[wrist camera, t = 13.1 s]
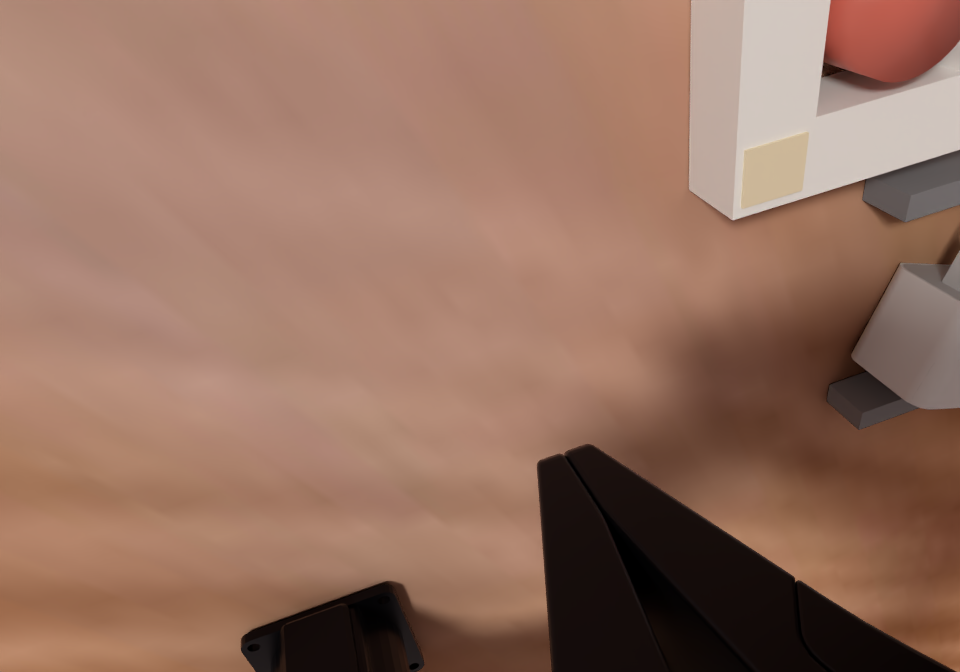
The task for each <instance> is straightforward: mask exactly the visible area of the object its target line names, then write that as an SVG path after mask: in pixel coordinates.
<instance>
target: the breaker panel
mask: <svg viewBox="0 0 960 672" xmlns="http://www.w3.org/2000/svg"><path fill="white" fill-rule="evenodd" d="M830 1H831V0H691V55H690V139H689V190H690V191H691V192H693V193H694V194H696V195H697V196H698V197H700V198H701V199H703V200H704V201H706V202H707V203H708V204H710V205H711V206H713V207H714V208H716V209H717V210H718V211H720V212H721V213H723V214H724V215H726V216H727V217H728V218H730V219H731V220H736V219H739V218H742V217H745V216H748V215H752V214H755V213H758V212H761V211H765V210H768V209H771V208H774V207H777V206H781V205H784V204H787V203H790V202H793V201H797V200H800V199H803V198H806V197H809V196H813V195H816V194H819V193H822V192H826V191H829V190H832V189H835V188H838V187H842V186H845V185H848V184H851V183H854V182H858V181H861V180H864V179H867V178H871V177H874V176H877V175H880V174H883V173H887V172H890V171H893V170H896V169H899V168H903V167H906V166H909V165H912V164H915V163H919V162H922V161H925V160H928V159H932V158H935V157H938V156H941V155H944V154H948V153H951V152H954V151H957V150H960V41H959V42H958V43H957V44H956V46H955V47H954V48H953V49H952V50H951V51H950V52H949V53H948V54H947V55H946V56H945V57H944V58H943V59H942V60H941V61H940V62H939V63H937V64H936V65H935V66H933V67H932V68H931V69H929V70H928V71H926V72H924V73H923V74H921V75H919V76H917V77H915V78H912V79H909V80H906V81H902V82H894V83H890V82H883V81H880V80H876V79H873V78H870V77H867V76H864V75H861V74H858V73H855V72H852V71H848V70H846V71H843V72H839V73H836V74H832V75H829V76H825V77H822V78H821V74H822V66H823V58H824V50H825V42H826V33H827V25H828V17H829V9H830Z"/></svg>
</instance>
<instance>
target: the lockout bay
mask: <svg viewBox="0 0 960 672" xmlns="http://www.w3.org/2000/svg"><path fill="white" fill-rule="evenodd" d="M862 200H863V201H865V202H867V203H869V204H871V205H873V206H875V207H877V208H879V209H880V210H882V211H884V212H886V213H888V214H890V215H892V216H894V217H896V218H898V219H900V220H901V221H903V222H908V221H911V220H914V219H917V218H920V217H923V216H926V215H929V214H932V213H935V212H938V211H942V210H945V209H948V208H951V207H954V206H957V205H960V150H957V151H954V152H951V153H948V154H944V155H941V156H938V157H935V158H932V159H928V160H925V161H922V162H919V163H915V164H912V165H909V166H906V167H903V168H899V169H896V170H893V171H890V172H887V173H883V174H880V175H877V176H874V177H871V178H867V179H866V183H865V188H864V194H863V199H862ZM827 402H828V403H829V404H830V405H831V406H832V407H834V408H835V409H836V410H837V411H838V412H839V413H840V414H841V415H843V416H844V417H845V418H846V419H847V420H848V421H849V422H850V423H851V424H853V425H854V426H855V427H856V428H857V429H858V430H860V429H863V428H866V427H868V426H871V425H874V424H877V423H879V422H882V421H885V420H887V419H890V418H893V417H896V416H898V415H901V414H904V413H907V412H909V411H912V410H915V409H918V408H919V407H917V406H914V405H912V404H910V403H908V402H906V401H905V400H903V399H902V398H901V397H900V396H898V395H897V394H896V393H894V392H893V391H892V390H891V389H889V388H888V387H887V386H886V385H884V384H883V383H882V382H880V381H879V380H878V379H877V378H875V377H874V376H873V375H872V374H870V373H869V372H868V371H867V372H864V373H861V374H859V375H856V376H853V377H850V378H847V379H844V380H842V381H839V382H836V383H833V384H830V385H829V391H828V397H827Z"/></svg>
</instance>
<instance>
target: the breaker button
mask: <svg viewBox="0 0 960 672" xmlns="http://www.w3.org/2000/svg"><path fill="white" fill-rule="evenodd" d="M959 41H960V0H831V1H830V9H829V17H828V25H827V33H826V42H825V50H824V58H823V62H824V63H827V64H830V65H833V66H836V67H839V68H842V69H845V70H848V71H852V72H855V73H858V74H861V75H864V76H867V77H870V78H873V79H876V80H880V81H883V82H890V83H894V82H902V81H906V80H909V79H912V78H915V77H917V76H919V75H921V74H923V73H924V72H926V71H928V70H929V69H931V68H932V67H933V66H935V65H936V64H937V63H939V62H940V61H941V60H942V59H943V58H944V57H945V56H946V55H947V54H948V53H949V52H950V51H951V50H952V49H953V48H954V47H955V46H956V44H957V43H958V42H959Z"/></svg>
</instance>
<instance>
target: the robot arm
mask: <svg viewBox="0 0 960 672" xmlns="http://www.w3.org/2000/svg"><path fill="white" fill-rule="evenodd" d="M537 474H538V488H539V502H540V516H541V529H542V543H543V557H544V571H545V585H546V598H547V612H548V626H549V640H550V653H551V667H552V672H956V671H954V670H952V669H950V668H949V667H947V666H945V665H943V664H941V663H939V662H937V661H935V660H934V659H932V658H930V657H928V656H926V655H924V654H922V653H920V652H919V651H917V650H915V649H913V648H911V647H909V646H908V645H906V644H904V643H902V642H900V641H899V640H897V639H895V638H893V637H891V636H890V635H888V634H886V633H884V632H882V631H881V630H879V629H877V628H875V627H874V626H872V625H870V624H868V623H866V622H865V621H863V620H862V619H860V618H858V617H857V616H855V615H853V614H852V613H850V612H849V611H847V610H845V609H844V608H842V607H841V606H839V605H837V604H836V603H834V602H833V601H831V600H829V599H828V598H826V597H825V596H823V595H822V594H820V593H818V592H817V591H815V590H814V589H812V588H811V587H809V586H808V585H806V584H805V583H803V582H802V581H799V580H798V581H796V583H795V578H794V576H792V575H791V574H789V573H788V572H786V571H785V570H783V569H782V568H780V567H779V566H777V565H775V564H774V563H772V562H771V561H769V560H768V559H766V558H765V557H763V556H762V555H760V554H759V553H757V552H756V551H754V550H753V549H751V548H749V547H748V546H746V545H745V544H743V543H742V542H740V541H739V540H737V539H736V538H734V537H733V536H731V535H730V534H728V533H727V532H725V531H723V530H722V529H720V528H719V527H717V526H716V525H714V524H713V523H711V522H710V521H708V520H707V519H705V518H704V517H702V516H701V515H699V514H698V513H696V512H694V511H693V510H691V509H690V508H688V507H687V506H685V505H684V504H682V503H681V502H679V501H678V500H676V499H675V498H673V497H672V496H670V495H668V494H667V493H665V492H664V491H662V490H661V489H659V488H658V487H656V486H655V485H653V484H652V483H650V482H649V481H647V480H646V479H644V478H642V477H641V476H639V475H638V474H636V473H635V472H633V471H632V470H630V469H629V468H627V467H626V466H624V465H623V464H621V463H620V462H618V461H617V460H615V459H613V458H612V457H610V456H609V455H607V454H606V453H604V452H603V451H601V450H600V449H598V448H597V447H595V446H593V445H591V444H585V445H582V446H579V447H577V448H574V449H571V450H568V451H567V452H565V454H564V455H563V454H556V455H554V456H551V457H548V458H545V459H542V460H540V461H539V462H538V463H537ZM241 651H242V653H243V655H244V656H245V657H246V659H247V660H248V661H249V663H250V664H251V666H252V667H253V668H254V670H255V671H256V672H417V671H419V670H420V669H422V668H423V666H424V660H423V656H422V653H421V651H420V648H419V646H418V644H417V641H416V639H415V637H414V634H413V632H412V630H411V627H410V625H409V623H408V620H407V618H406V616H405V613H404V611H403V609H402V606H401V604H400V602H399V599H398V597H397V595H396V592H395V590H394V588H393V587H392V586H391V585H387V584H384V585H379V586H376V587H374V588H371V589H368V590H365V591H363V592H360V593H357V594H354V595H352V596H349V597H346V598H343V599H341V600H338V601H335V602H332V603H329V604H327V605H324V606H321V607H318V608H316V609H313V610H310V611H307V612H305V613H302V614H299V615H296V616H294V617H291V618H288V619H285V620H282V621H280V622H277V623H274V624H271V625H269V626H266V627H263V628H260V629H258V630H255V631H252V632H249V633H247V634H245V635H244V636H243V637H242V639H241Z"/></svg>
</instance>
